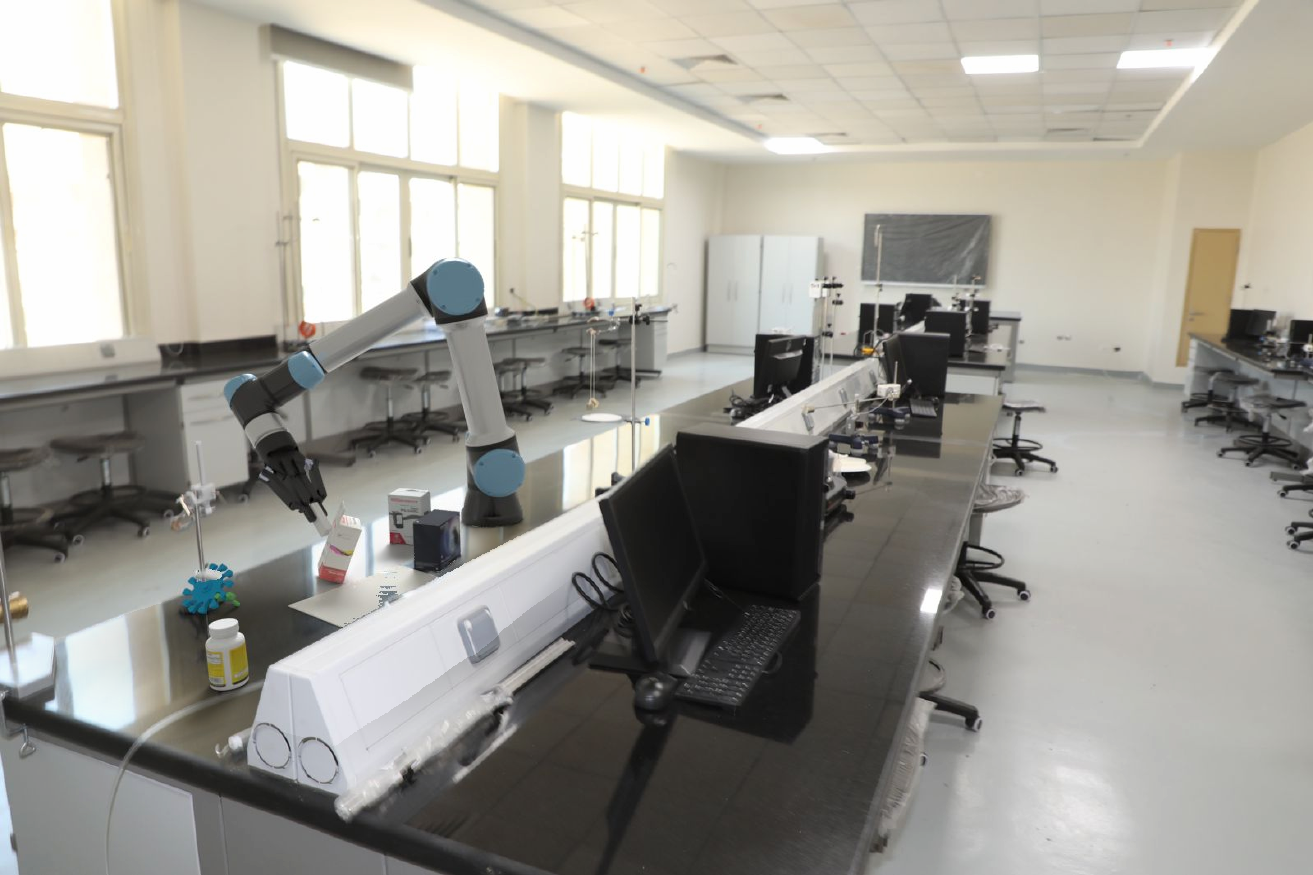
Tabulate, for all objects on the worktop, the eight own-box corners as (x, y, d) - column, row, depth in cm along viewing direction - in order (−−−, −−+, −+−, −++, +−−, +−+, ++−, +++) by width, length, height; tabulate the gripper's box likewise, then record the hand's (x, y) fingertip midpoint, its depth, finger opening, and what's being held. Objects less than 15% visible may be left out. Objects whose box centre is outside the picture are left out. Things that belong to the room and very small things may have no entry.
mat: (400, 566, 179) (400, 565, 179) (459, 584, 169) (459, 584, 169) (288, 606, 158) (288, 605, 158) (348, 630, 148) (348, 629, 148)
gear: (169, 601, 155) (204, 554, 160) (190, 613, 160) (224, 567, 164) (208, 621, 151) (243, 572, 155) (229, 633, 156) (263, 585, 160)
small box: (441, 573, 175) (439, 525, 173) (412, 570, 176) (410, 522, 174) (463, 556, 185) (461, 510, 183) (435, 553, 187) (433, 508, 184)
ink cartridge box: (343, 584, 169) (368, 516, 168) (318, 579, 166) (342, 509, 166) (341, 570, 176) (364, 504, 176) (316, 564, 174) (340, 498, 173)
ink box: (388, 543, 193) (385, 493, 191) (399, 536, 198) (396, 487, 195) (423, 546, 191) (420, 495, 189) (433, 539, 196) (431, 490, 194)
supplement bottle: (249, 672, 133) (244, 613, 131) (248, 687, 128) (242, 627, 126) (211, 678, 131) (204, 619, 129) (208, 694, 126) (201, 633, 124)
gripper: (294, 445, 182) (347, 534, 176) (236, 457, 171) (290, 551, 166) (307, 424, 178) (362, 514, 172) (248, 434, 167) (304, 530, 162)
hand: (327, 532), depth 169 cm, fingers closed
